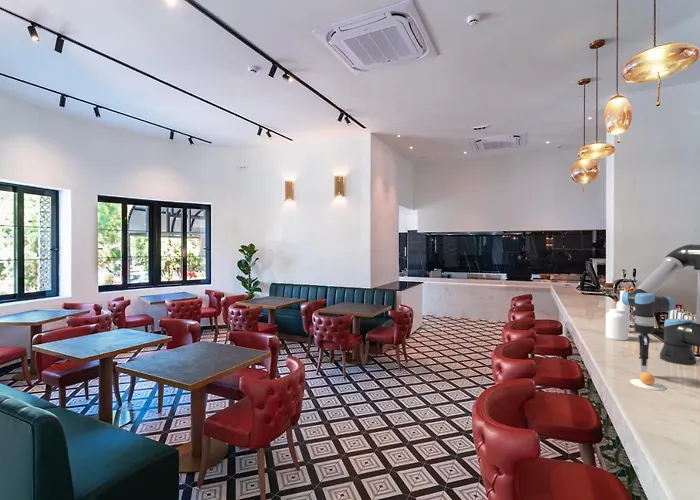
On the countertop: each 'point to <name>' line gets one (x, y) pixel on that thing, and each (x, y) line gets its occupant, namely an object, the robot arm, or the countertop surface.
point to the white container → (617, 324)
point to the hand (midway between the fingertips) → (643, 371)
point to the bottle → (624, 307)
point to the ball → (647, 378)
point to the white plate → (651, 387)
